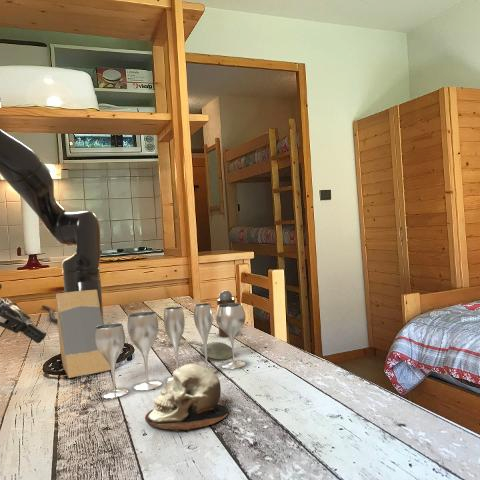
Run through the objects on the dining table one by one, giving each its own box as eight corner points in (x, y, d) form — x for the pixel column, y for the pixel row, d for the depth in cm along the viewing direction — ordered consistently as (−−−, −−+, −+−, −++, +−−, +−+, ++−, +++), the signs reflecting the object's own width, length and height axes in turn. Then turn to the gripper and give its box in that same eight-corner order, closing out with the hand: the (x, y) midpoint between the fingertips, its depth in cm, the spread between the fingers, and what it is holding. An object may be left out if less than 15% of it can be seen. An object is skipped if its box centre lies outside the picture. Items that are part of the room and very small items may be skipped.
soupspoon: (213, 366, 105) (239, 359, 110) (213, 349, 105) (239, 344, 109) (160, 346, 120) (185, 341, 125) (160, 332, 120) (185, 327, 125)
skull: (151, 436, 68) (139, 367, 74) (149, 463, 75) (138, 398, 81) (239, 413, 73) (221, 350, 79) (229, 440, 81) (214, 381, 86)
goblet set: (104, 402, 86) (98, 323, 85) (96, 393, 90) (90, 318, 90) (253, 365, 102) (249, 298, 101) (240, 359, 107) (236, 295, 106)
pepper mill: (217, 334, 131) (214, 290, 130) (235, 331, 132) (232, 288, 132) (221, 337, 127) (217, 292, 126) (238, 335, 128) (235, 290, 128)
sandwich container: (67, 378, 100) (60, 302, 99) (60, 361, 113) (54, 293, 112) (114, 369, 104) (108, 296, 103) (102, 354, 117) (97, 288, 117)
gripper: (-28, 274, 95) (52, 330, 100) (-11, 268, 107) (59, 319, 112) (-59, 306, 93) (23, 362, 99) (-39, 296, 106) (34, 346, 111)
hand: (43, 339), depth 106 cm, fingers closed
